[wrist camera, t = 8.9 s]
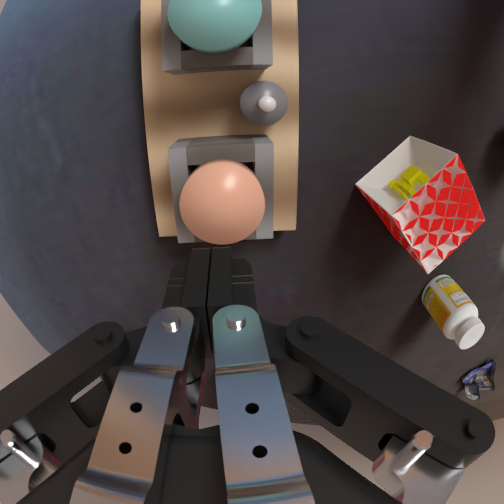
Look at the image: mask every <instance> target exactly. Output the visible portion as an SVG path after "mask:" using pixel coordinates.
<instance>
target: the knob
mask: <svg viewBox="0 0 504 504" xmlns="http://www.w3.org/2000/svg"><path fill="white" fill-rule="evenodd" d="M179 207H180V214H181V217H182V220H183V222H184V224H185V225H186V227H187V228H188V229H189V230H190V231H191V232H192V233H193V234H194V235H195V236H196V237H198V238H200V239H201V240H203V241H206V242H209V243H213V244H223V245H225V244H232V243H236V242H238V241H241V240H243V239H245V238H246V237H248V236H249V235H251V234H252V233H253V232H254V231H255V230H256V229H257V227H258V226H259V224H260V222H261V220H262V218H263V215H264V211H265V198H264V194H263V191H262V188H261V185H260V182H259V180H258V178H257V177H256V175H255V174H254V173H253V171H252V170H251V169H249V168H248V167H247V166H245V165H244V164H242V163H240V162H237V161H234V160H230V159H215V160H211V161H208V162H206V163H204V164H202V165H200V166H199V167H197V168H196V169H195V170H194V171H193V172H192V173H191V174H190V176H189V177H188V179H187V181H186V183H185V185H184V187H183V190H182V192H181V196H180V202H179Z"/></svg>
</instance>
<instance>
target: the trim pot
mask: <svg viewBox="0 0 504 504" xmlns="http://www.w3.org/2000/svg"><path fill="white" fill-rule="evenodd" d="M239 106H240V109H241V111H242V113H243V114H244V116H245V117H246V118H247V119H248V120H249V121H250V122H252V123H254V124H257V125H261V126H268V125H272V124H275V123H277V122H278V121H279V120H281V119H282V118H283V116H284V115H285V113H286V111H287V107H288V99H287V96H286V93H285V92H284V90H283V89H282V88H281V87H280V86H279V85H277V84H276V83H274V82H271V81H257V82H254V83H252V84H250V85H248V86H247V87H246V88H245V89H244V90H243V91H242V93H241V95H240V98H239Z"/></svg>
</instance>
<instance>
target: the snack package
mask: <svg viewBox="0 0 504 504" xmlns="http://www.w3.org/2000/svg"><path fill="white" fill-rule="evenodd" d="M494 372H495V362H494V361H493V360H492V359H491V360H490V361H489V362H488V363H487V364H486V365H484V366H482V367H475V368H473V369H471V370H470V371H468V372H467V373H466V374H465V375H464V376H462V377H461V381H462V382H463V383H464V385H465V391H466V392H465V393H466V396H467V397H469V398H470V399H472V400H478V399H479V398H480V395H479V394H480V393H479V390H494V388H495V386H494V381H493V378H494ZM475 374H477V379H476V380H475V381H473V382H472V383H471V381H472V380H473V378H472V377H473V376H474V375H475ZM484 395H485V394H484ZM482 397H483V396H482Z"/></svg>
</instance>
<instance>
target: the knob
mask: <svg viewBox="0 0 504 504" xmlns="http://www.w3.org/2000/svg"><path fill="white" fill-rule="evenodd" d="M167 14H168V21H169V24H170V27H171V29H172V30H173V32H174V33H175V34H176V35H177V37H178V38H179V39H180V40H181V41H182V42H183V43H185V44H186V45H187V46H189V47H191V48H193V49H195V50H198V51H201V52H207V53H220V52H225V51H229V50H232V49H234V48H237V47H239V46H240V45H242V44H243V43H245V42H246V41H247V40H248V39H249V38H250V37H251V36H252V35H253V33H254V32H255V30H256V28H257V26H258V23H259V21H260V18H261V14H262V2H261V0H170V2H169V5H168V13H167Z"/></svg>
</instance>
